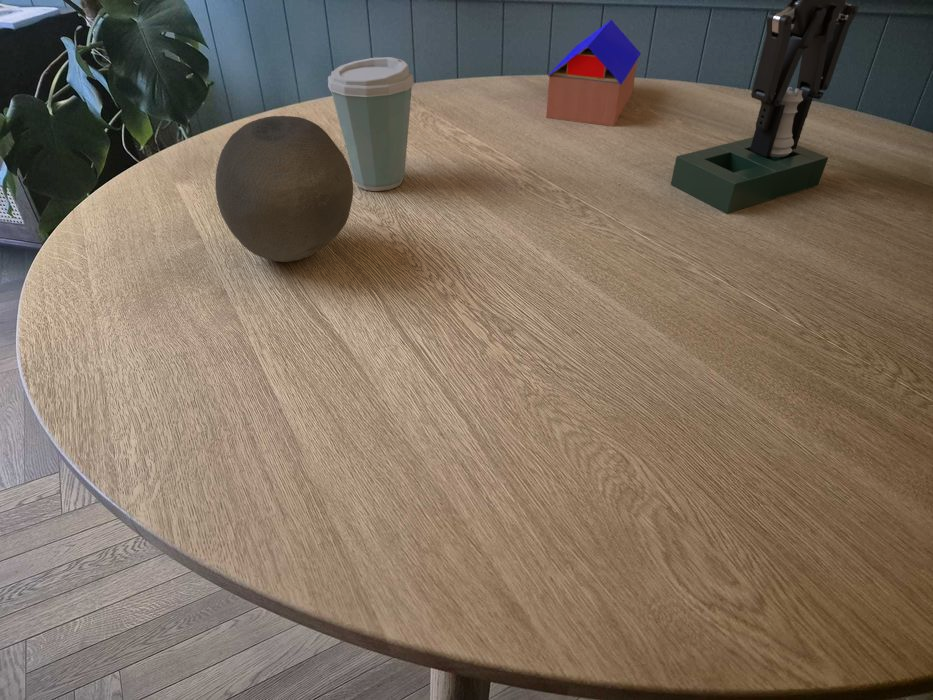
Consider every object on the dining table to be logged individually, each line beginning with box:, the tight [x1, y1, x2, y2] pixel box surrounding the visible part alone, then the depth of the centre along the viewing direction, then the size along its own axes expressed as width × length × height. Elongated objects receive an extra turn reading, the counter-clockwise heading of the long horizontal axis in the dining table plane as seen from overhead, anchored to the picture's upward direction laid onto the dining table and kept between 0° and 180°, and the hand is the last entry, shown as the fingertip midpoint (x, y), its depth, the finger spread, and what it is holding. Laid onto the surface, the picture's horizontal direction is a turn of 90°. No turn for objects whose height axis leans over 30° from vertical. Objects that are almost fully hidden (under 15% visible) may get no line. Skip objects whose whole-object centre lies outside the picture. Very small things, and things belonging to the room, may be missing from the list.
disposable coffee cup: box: [327, 56, 415, 192], centre depth 85 cm, size 11×11×15 cm
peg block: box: [670, 136, 829, 214], centre depth 88 cm, size 18×10×4 cm, turn 120°
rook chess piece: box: [770, 86, 803, 157], centre depth 86 cm, size 4×4×8 cm
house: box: [545, 19, 641, 127], centre depth 112 cm, size 12×20×12 cm, turn 160°
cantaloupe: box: [215, 115, 354, 263], centre depth 69 cm, size 14×14×15 cm
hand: (773, 149), depth 88 cm, fingers closed on rook chess piece, 4 cm apart
